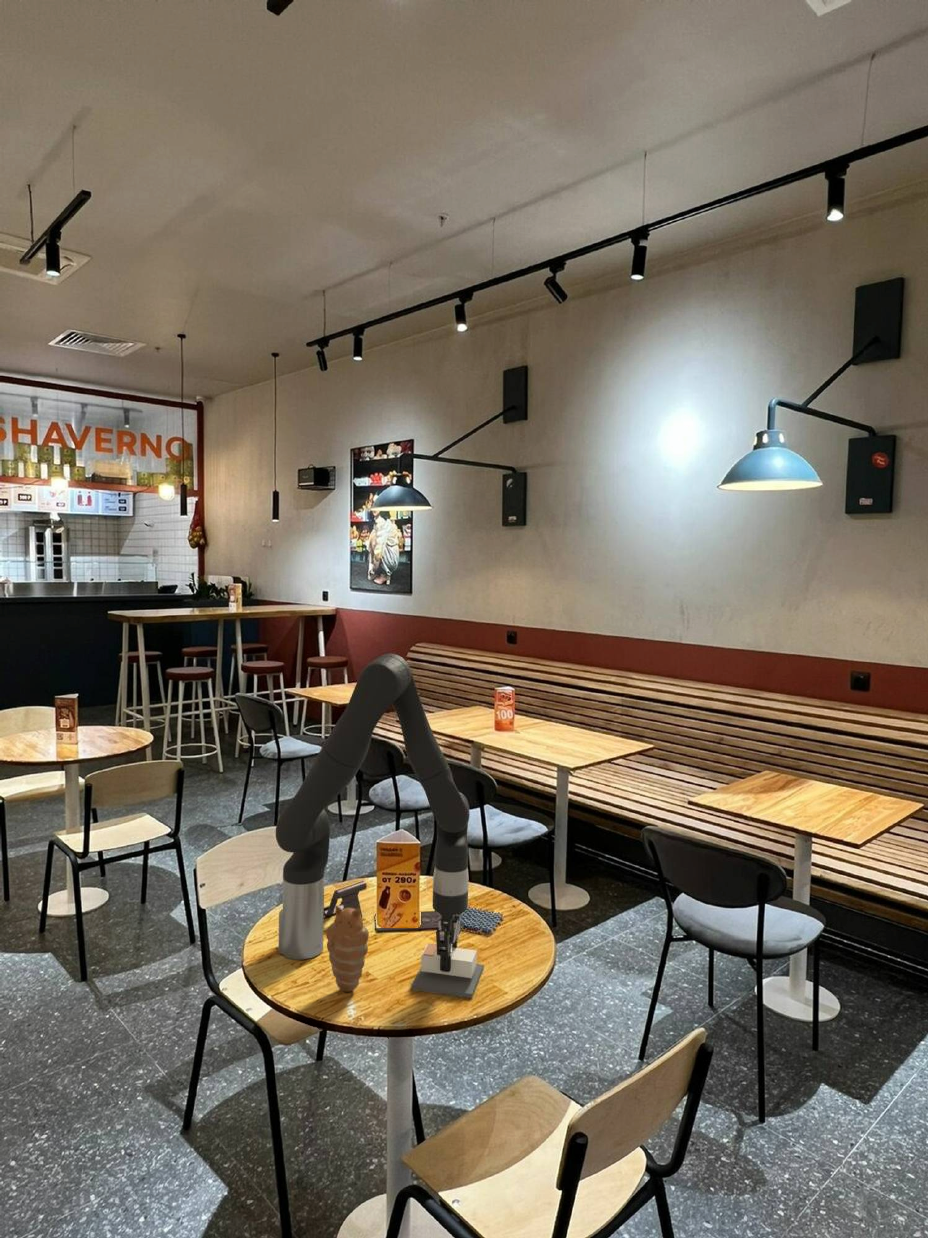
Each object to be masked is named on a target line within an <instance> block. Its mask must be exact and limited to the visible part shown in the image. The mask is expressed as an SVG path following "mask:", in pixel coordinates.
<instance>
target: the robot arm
mask: <svg viewBox="0 0 928 1238" xmlns="http://www.w3.org/2000/svg"><path fill="white" fill-rule="evenodd" d="M418 691H419V690H418V688H417V684H416V682H415V678H414V674H413V672H412V669H411V667H410V665H409V663H408V662H407V661H406V660H405V658H403V657H402V656H400V655H398V654H395V653H386V654H383V655H380V656H379V657H377V658H376V659H374V660H373V661H371V662H370V663H368V664H367V665H366V666H364V668H363V669H362V671H361V673H359V677H358V678H357V681H356V684H355V687H354V689H353V691H352V694H351V696H350V697H349V698H350V699H349V701H348V703H347V705H346V708H345V709H344V711H343V713H342V714H341V716H340V717H339V719H338V721H337V722H336V724H335V725H334V727H333V728H332V730H331V732H330V733H329V735H328V736H327V738H326V740H325V741H324V742H323V745H322V747H321V748H320V749H319V753H318V754H317V756H316V758H315V760H314V763H313V764H312V766H311V768H310V770H309V771H308V773H307V774H306V777H305V778H304V780H303V782H302V784H301V785H300V788H299V789H298V791H297V792H296V793H295V795H294V796H293V798H292V800H290V802H289V803H288V805H287V806H286V808H285V809H284V811H283V812H282V813H281V815H280V816H279V818H278V820H277V823H276V825H275V839H276V842H277V843H276V844H278V846H279V848H280V849H281V850H283V851H284V852H287V853H292V855H290V857H289V858H288V859H287V860H286V862H285V863H284V864H283V868H282V909H281V910H279V912H278V946H277V947H278V951H277V952H278V954H281V955H283V956H285V957H286V958H288V959H291V960H299V961H300V960H301V961H302V960H308V959H312V958H315V957H317V956H319V955H320V954H321V953H322V952H323V951H324V928H325V927H324V926H325V925H324V923H325V921H324V920H325V919H324V918H325V917H324V907H325V869H326V867H327V864H328V863H329V862H328V861H329V852H330V840H331V839H330V837H331V825H330V820H329V819H330V818H329V816H328V813H327V811H326V810H325V808H326V807H327V806H328V805H329V804H330V803H331V802H333V800H334V799H335V798H336V797H338V796H339V795H340V793H342V792H343V791H344V790H345V789H346V787H348V785H350V783H351V782H352V781H353V779H355V777H356V775H357V773H358V772H359V769H360V768H361V767H362V764H363V763H364V761H365V759H366V757H367V755H368V752H369V750H370V749H369V748H370V745H371V740H372V736H373V733H374V730H375V728H376V726H377V724H379V722H380V720H381V719H382V717H383V716H384V714H385V713H386V712H387V710H388V709H389V708H390V706H392V707H393V709H394V712H395V713H396V716H397V718H398V722H399V724H400V725H399V726H400V728H401V732H402V738H403V743H404V747H405V752H406V755H407V759H408V761H409V763H410V765H411V768H412V770H413V772H414V774H415V776H416V779H417V780H418V782H419V784H420V785H421V787H422V789H423V791H424V793H425V796H426V799H427V801H428V804H429V807H430V810H431V812H432V814H433V817H434V819H435V821H436V843H435V849H434V871H433V875H432V878H433V879H432V880H433V882H432V909H433V911H436V912H438V913H439V914H440V915H441V916H442V917H441V919H439V924H438V926H439V930H436V931H435V937H436V945H437V955H440V970H441V971H443V972H450V970H451V954H452V947H453V948H458V941H459V939H460V936H459V935H461V933H462V930H461V919H462V913H464V912H466V910H467V908H468V907H469V869H468V868H469V867H468V866H469V862H468V861H469V846H468V828H469V826H468V825H469V820H470V815H471V814H470V805H469V800H468V798H467V797H466V796H465V794H463V793H462V792H460V791H459V790H458V788H457V785H456V784H455V782H454V781H455V780H454V778H453V772H452V771H451V767H450V766H449V763H448V761H447V760H446V757H445V755H444V753H443V751H442V749H441V747H440V746H439V743H438V741H437V738H436V737H435V735H434V733H433V730H432V727H431V726H430V723H429V719H428V717H427V715H426V711H425V709H424V706H423V704H422V700H421V697H420V694H419V692H418ZM443 947H445V948H446V949H445V948H443Z"/></svg>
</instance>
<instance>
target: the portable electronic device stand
mask: <svg viewBox="0 0 928 1238" xmlns="http://www.w3.org/2000/svg"><path fill="white" fill-rule="evenodd" d="M367 887H368V886H367V882H366V881H365V880H362V881H358V882H356V883H353V884H351V885H348V886H344V887H342V888H339V889H336V890H334V891H333V894H332V897H331V900H330V903H329V905H326V906H324V916H325V917H324V918H327V917H328V916H329V917H330V916H333V915H336V910H335V909H336V906H338V907H340V908H341V909H345V908H354V909H358V908H360V909H361V903H360V900H359V899H360V898H359V893H360V892H361V891H366V890H367ZM340 899H341V901H340V904H338V905H337V903H338V900H340ZM361 910H362V909H361ZM360 915H361V917H362V918H363V912H362V911H361V912H360ZM329 917H328V918H329Z"/></svg>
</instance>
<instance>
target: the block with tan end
mask: <svg viewBox="0 0 928 1238" xmlns="http://www.w3.org/2000/svg"><path fill="white" fill-rule="evenodd" d="M443 948H445V947H443ZM445 949H446V948H445ZM477 952H478V951H477V950H476V949H475V950H474V949H467V948H461V947H457V948H453V947H452V954H451V970H450V972H443V971H441V970H440V955H437V943H436V944H435V943H426V945H425V948H424V950H423V951H422V953H421V954H420V955H421V957H420V968H421V971H424V972H431V973H438V974H445V975H453V976H460V977H467V978H472V976H473V973H474V971H475V968H476V964H477V955H478V954H477Z"/></svg>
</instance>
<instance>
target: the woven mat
mask: <svg viewBox="0 0 928 1238" xmlns="http://www.w3.org/2000/svg"><path fill="white" fill-rule="evenodd" d="M504 920H505V918H504V917H503V913H501V912H494V911H493V910H492V911H489V910H488V909H486V910H483V909H482V908H480V909H477V907H474V908H473V907H472V908H471V906H468V908H467V910H466V911H465V912H464V913H462V919H461V931H464V932H470V933H474V934H478V935H483V936H487V937H492V936H493V934H494V933H495V932H496V930H497V928H498V926H499V925H500V924H502V923H503V921H504ZM501 922H502V923H501ZM498 923H499V924H498Z"/></svg>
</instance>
